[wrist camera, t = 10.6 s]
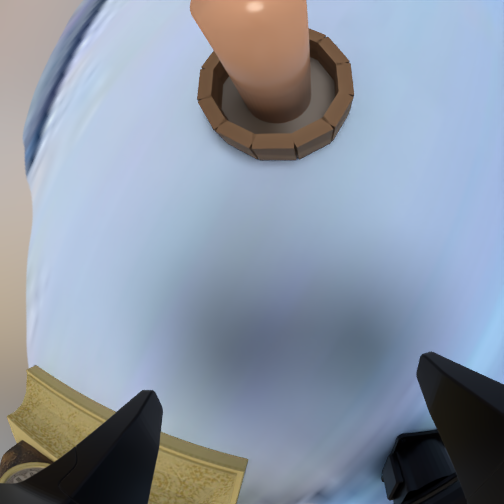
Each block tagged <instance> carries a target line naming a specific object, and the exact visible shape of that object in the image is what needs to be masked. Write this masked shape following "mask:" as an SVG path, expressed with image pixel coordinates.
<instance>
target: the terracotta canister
mask: <svg viewBox="0 0 504 504" xmlns="http://www.w3.org/2000/svg"><path fill="white" fill-rule="evenodd" d="M190 11H191V15H192V16H193V18H194V20H195V21H196V23H197V24H198V26H199V28H200V29H201V31H202V32H203V34H204V35H205V37H206V39H207V40H208V42H209V43H210V45H211V47H212V48H213V50H214V52H215V53H216V55H217V56H218V58H219V60H220V61H221V63H222V65H223V66H224V68H225V70H226V72H227V73H228V75H229V77H230V78H231V80H232V82H233V83H234V85H235V87H236V89H237V90H238V92H239V94H240V96H241V97H242V99H243V101H244V103H245V105H246V106H247V108H248V110H249V111H250V112H251V113H252V114H253V115H254V116H255V117H256V118H258V119H260V120H262V121H265V122H268V123H286V122H289V121H292V120H294V119H296V118H298V117H299V116H300V115H302V114H303V113H304V112H305V111H306V109H307V108H308V106H309V104H310V101H311V68H310V47H309V30H308V16H307V4H306V0H191V3H190Z"/></svg>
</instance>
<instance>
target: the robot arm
mask: <svg viewBox="0 0 504 504" xmlns="http://www.w3.org/2000/svg"><path fill="white" fill-rule="evenodd" d="M416 375H417V379H418V382H419V385H420V388H421V390H422V393H423V396H424V399H425V402H426V405H427V407H428V410H429V413H430V415H431V417H432V419H433V421H434V423H435V426H436V428H437V430H434V431H427V432H419V433H410V434H402V435H400V436H399V437H398V438H397V440H396V443H395V445H394V448H393V451H392V453H391V454H390V455H389V456H388V459H387V461H386V464H385V466H384V468H383V471H382V474H383V475H382V477H381V479H382V482H384V484H385V488H386V494H387V498H388V499H389V500H393V502H394V504H504V384H501V383H499V382H497V381H495V380H493V379H490V378H488V377H486V376H484V375H482V374H480V373H477V372H475V371H473V370H471V369H469V368H466V367H464V366H462V365H460V364H458V363H456V362H453V361H451V360H449V359H447V358H445V357H443V356H441V355H438V354H436V353H434V352H428V353H424V354H422V355H421V356H420V360H419V364H418V368H417V374H416ZM162 415H163V409H162V405H161V403H160V401H159V399H158V397H157V395H156V393H155V392H154V391H153V390H142V391H141V392H140V393H138V394H137V395H136V396H135V397H134V398H132V399H131V400H130V401H129V402H128V403H127V404H125V405H124V406H123V407H122V408H121V409H120V410H118V411H117V412H116V413H115V414H114V415H112V416H111V417H110V418H109V419H108V420H106V421H105V422H104V423H103V424H102V425H100V426H99V427H98V428H97V429H96V430H94V431H93V432H92V433H91V434H89V435H88V436H87V437H86V438H85V439H83V440H82V441H81V442H80V443H78V444H77V445H76V447H73V448H72V449H71V450H70V451H68V452H67V453H66V454H64V455H63V456H62V457H60V458H59V459H58V460H56V461H55V462H53V463H52V464H50V465H49V466H47V467H45V468H44V469H42V470H41V471H39V472H37V473H36V474H34V475H32V476H31V477H29V478H27V479H26V480H24V481H21V482H18V483H0V504H148V501H149V495H150V490H151V485H152V480H153V475H154V471H155V466H156V461H157V457H158V452H159V445H160V435H161V424H162ZM402 439H403V440H402Z"/></svg>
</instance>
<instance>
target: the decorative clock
mask: <svg viewBox="0 0 504 504" xmlns="http://www.w3.org/2000/svg"><path fill="white" fill-rule="evenodd" d="M26 371H27V389H26V394H25V397H24V400H23V403H22V404H21V406H20V407H19V408H18V409H17V410H16V411H15V412H14V413H12V414H10V415H8V416H7V419H8V421H9V424H10V427H11V430H12V432H13V435H14V437H15V440H16V442H17V444H16V445H15V446H14V447H12V448H11V449H9V450H8V451H7V452H6V453H5V454H4V455H3V457H2V460H1V463H0V483H18V482H21V481H24V480H26V479H27V478H29V477H31V476H32V475H34V474H36V473H37V472H39V471H41V470H42V469H44V468H45V467H47V466H49V465H50V464H52V463H53V462H55V461H56V460H58V459H59V458H60V457H62V456H63V455H64V454H66V453H67V452H68V451H70V450H71V449H72V448H73V447H76V445H77V444H78V443H80V442H81V441H82V440H83V439H85V438H86V437H87V436H88V435H89V434H91V433H92V432H93V431H94V430H96V429H97V428H98V427H99V426H100V425H102V424H103V423H104V422H105V421H106V420H108V419H109V418H110V417H111V416H112V415H114V414H115V413H116V412H115V411H113V410H111V409H109V408H107V407H105V406H103V405H101V404H99V403H97V402H95V401H93V400H92V399H90V398H88V397H86V396H84V395H83V394H81V393H79V392H77V391H76V390H74V389H72V388H71V387H69V386H67V385H66V384H64V383H62V382H61V381H59V380H58V379H56V378H54V377H53V376H51V375H50V374H48V373H47V372H45V371H44V370H42V369H41V368H39V367H38V366H37V365H36V366H33V367H31V368H29V369H27V370H26ZM247 462H248V459H245V458H241V457H237V456H233V455H230V454H226V453H222V452H219V451H215V450H212V449H209V448H205V447H202V446H199V445H196V444H193V443H190V442H187V441H184V440H181V439H178V438H176V437H173V436H170V435H168V434H165V433H163V432H161V435H160V445H159V452H158V457H157V461H156V466H155V471H154V475H153V480H152V485H151V490H150V495H149V501H148V504H236V503H237V499H238V496H239V492H240V488H241V485H242V481H243V477H244V474H245V470H246V466H247Z"/></svg>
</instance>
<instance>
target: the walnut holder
mask: <svg viewBox="0 0 504 504" xmlns="http://www.w3.org/2000/svg"><path fill="white" fill-rule="evenodd" d="M308 30H309V47H310V68H311V101H310V104H309V106H308V108H307V109H306V111H305V112H304V113H303V114H302V115H300V116H299V117H298V118H296V119H294V120H292V121H289V122H286V123H268V122H265V121H262V120H260V119H258V118H256V117H255V116H254V115H253V114H252V113H251V112H250V111H249V110H248V108H247V106H246V105H245V103H244V101H243V99H242V97H241V96H240V94H239V92H238V90H237V89H236V87H235V85H234V83H233V82H232V80H231V78H230V77H229V75H228V73H227V72H226V70H225V68H224V66H223V65H222V63H221V61H220V60H219V58H218V56H217V55H216V53H215V52H214V51H213V52H212V54H211V55H210V56H209V58H208V59H207V60H206V62H205V63H204V64H203V66H202V69H200V77H199V87H198V96H197V100H198V103H199V105H200V107H201V108H202V110H203V112H204V114H205V115H206V117H207V119H208V121H209V122H210V124H211V126H212V128H213V129H214V130H215V131H216V132H217V133H218V134H219V135H220V136H221V137H222V138H223V139H224V140H225V141H226V142H227V143H228V144H229V145H231V146H233V147H235V148H237V149H239V150H241V151H243V152H244V153H246V154H248V155H250V156H252V157H254V158H256V159H258V158H259V159H260V160H296V158H299V159H301V158H303V157H305V156H307V155H309V154H310V153H312V152H314V151H316V150H318V149H320V148H322V147H324V146H326V145H328V144H330V143H331V141H333V140H334V138H335V136H336V135H337V133H338V131H339V130H340V128H341V126H342V124H343V123H344V121H345V119H346V118H347V116H348V114H349V111H350V108H351V104H352V101H353V97H354V89H353V80H352V72H351V64H350V63H349V60H348V59H347V58H346V56H345V55H344V54H343V53H342V52H341V51H340V50H339V48H338V47H337V46H336V45H335V44H334V43H333V42H332V41H331V39H330V38H329V37H326V35H324V34H322V33H319V32H317V31H314V30H311V29H309V28H308Z"/></svg>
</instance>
